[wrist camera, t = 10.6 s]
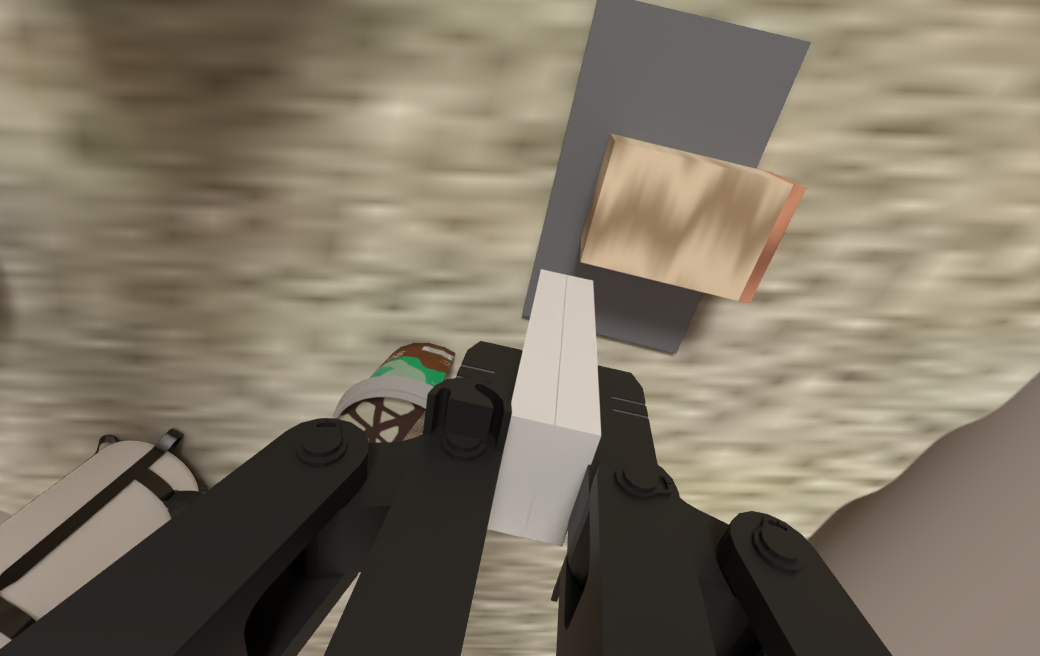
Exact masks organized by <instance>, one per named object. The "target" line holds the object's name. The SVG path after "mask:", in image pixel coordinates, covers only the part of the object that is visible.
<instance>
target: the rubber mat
mask: <svg viewBox="0 0 1040 656" xmlns="http://www.w3.org/2000/svg"><path fill="white" fill-rule="evenodd" d="M810 43H811V42H807V41H803V40H799V39H794V38H790V37H786V36H782V35H778V34H773V33H769V32H765V31H761V30H757V29H752V28H748V27H744V26H740V25H736V24H731V23H727V22H723V21H719V20H715V19H710V18H706V17H702V16H698V15H694V14H689V13H685V12H681V11H677V10H673V9H668V8H664V7H660V6H656V5H652V4H648V3H643V2H639V1H635V0H598V2H597V6H596V10H595V14H594V18H593V22H592V27H591V31H590V35H589V39H588V43H587V47H586V52H585V56H584V60H583V64H582V68H581V72H580V77H579V81H578V85H577V89H576V93H575V97H574V102H573V106H572V110H571V114H570V118H569V122H568V127H567V131H566V135H565V139H564V143H563V147H562V152H561V156H560V160H559V164H558V168H557V172H556V176H555V181H554V185H553V189H552V193H551V197H550V201H549V206H548V210H547V214H546V218H545V222H544V226H543V231H542V235H541V239H540V243H539V247H538V251H537V256H536V260H535V264H534V268H533V272H532V276H531V281H530V285H529V289H528V293H527V297H526V301H525V306H524V310H523V314H522V315H523V316H527V317H530V316H531V312H532V307H533V303H534V298H535V294H536V289H537V285H538V280H539V276H540V271H541V269H542V270H547V271H551V272H556V273H560V274H565V275H569V276H574V277H578V278H583V279H588V280H592V281H593V289H594V308H595V327H596V334H599V335H603V336H608V337H612V338H616V339H620V340H624V341H628V342H632V343H636V344H640V345H644V346H648V347H652V348H656V349H660V350H664V351H668V352H672V353H677V351H678V348H679V346H680V344H681V341H682V339H683V337H684V334H685V332H686V330H687V327H688V325H689V323H690V321H691V318H692V316H693V314H694V311H695V309H696V307H697V304H698V302H699V300H700V297H701V295H702V293H703V292H700V291H696V290H692V289H688V288H684V287H680V286H676V285H672V284H667V283H663V282H659V281H655V280H651V279H647V278H643V277H639V276H635V275H631V274H627V273H623V272H619V271H615V270H611V269H606V268H602V267H598V266H594V265H590V264H586V263H582V262H580V258H581V237H582V233H583V229H584V226H585V222H586V219H587V215H588V212H589V208H590V205H591V201H592V198H593V194H594V190H595V187H596V183H597V180H598V176H599V173H600V169H601V166H602V162H603V158H604V155H605V151H606V148H607V144H608V141H609V137H610V134H615V135H619V136H623V137H627V138H631V139H635V140H639V141H644V142H648V143H652V144H656V145H660V146H664V147H668V148H672V149H677V150H681V151H685V152H689V153H693V154H697V155H701V156H706V157H710V158H714V159H718V160H722V161H726V162H730V163H734V164H739V165H743V166H747V167H751V168H755V169H756V168H757V166H758V163H759V161H760V159H761V157H762V154H763V152H764V150H765V147H766V145H767V143H768V140H769V138H770V136H771V133H772V131H773V129H774V126H775V124H776V122H777V120H778V117H779V115H780V113H781V110H782V108H783V106H784V103H785V101H786V99H787V96H788V94H789V92H790V90H791V87H792V85H793V83H794V80H795V78H796V76H797V73H798V71H799V69H800V66H801V64H802V62H803V59H804V57H805V55H806V53H807V50H808V48H809V46H810Z"/></svg>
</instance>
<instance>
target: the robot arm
mask: <svg viewBox="0 0 1040 656" xmlns="http://www.w3.org/2000/svg"><path fill="white" fill-rule="evenodd" d="M647 418H648V413H647V408H646V406H645V398H644V393H643V388H642V386H641V385H640V384H639V383H638V381H637V380H636V379H635V377H634V376H633V375H632V373H629V372H625V371H620V370H616V369H611V368H607V367H602V366H598V365H597V346H596V327H595V308H594V289H593V281H592V280H588V279H583V278H578V277H574V276H569V275H565V274H560V273H556V272H551V271H547V270H542V269H541V271H540V276H539V280H538V285H537V289H536V294H535V298H534V303H533V307H532V312H531V316H530V321H529V325H528V330H527V334H526V339H525V343H524V348H523V350H519V349H515V348H510V347H506V346H501V345H497V344H492V343H488V342H483V341H480V342H479V343H477V344H476V345H474V346H473V347H471V348H470V349H468V350H467V352H466V354H465V357H464V359H463V361H462V364H461V366H460V368H459V371H458V373H457V376H456V378H454V379H447V380H445V381H443V382H441V383H438V384H436V385H435V386H434V387H433V388H432V389H431V390H430V392H429V393H428V395H427V403H426V412H425V421H424V430H423V434H422V435H420V436H418V437H416V438H412V439H409V440H405V441H398V442H375V443H369V440H368V438H367V437H366V435H365V433H364V431H363V430H362V429H361V428H359V427H358V426H356V425H355V424H353V423H352V422H348V421H344V420H340V419H337V418H320V419H315V420H311V421H307V422H303V423H300V424H298V425H297V426H295V427H293V428H291V429H289V430H287V431H286V432H284V433H283V434H282V435H280V436H279V437H278V438H277V439H275V440H274V441H273V442H271V443H270V444H269V445H267V446H266V447H265V448H263V449H262V450H261V451H259V452H258V453H257V454H256V455H254V456H253V457H252V458H250V459H249V460H248V461H246V462H245V463H244V464H242V465H241V466H240V467H238V468H237V469H236V470H235V471H233V472H232V473H231V474H229V475H228V476H227V477H225V478H224V479H223V480H221V481H220V482H219V483H217V484H216V485H215V486H213V487H212V488H211V489H210V490H208V491H207V492H206V493H204V494H203V495H202V496H200V497H199V498H198V499H196V500H195V501H194V502H192V503H191V504H190V505H189V506H187V507H186V508H185V509H183V510H182V511H181V512H179V513H178V514H177V515H175V516H174V517H173V518H171V519H170V520H169V521H168V522H166V523H165V524H164V525H162V526H161V527H160V528H158V529H157V530H156V531H154V532H153V533H152V534H150V535H149V536H148V537H147V538H145V539H144V540H143V541H141V542H140V543H139V544H137V545H136V546H135V547H133V548H132V549H131V550H129V551H128V552H127V553H125V554H124V555H123V556H122V557H120V558H119V559H118V560H116V561H115V562H114V563H112V564H111V565H110V566H108V567H107V568H106V569H104V570H103V571H102V572H101V573H99V574H98V575H97V576H95V577H94V578H93V579H91V580H90V581H89V582H87V583H86V584H85V585H83V586H82V587H81V588H80V589H78V590H77V591H76V592H74V593H73V594H72V595H70V596H69V597H68V598H66V599H65V600H64V601H62V602H61V603H60V604H58V605H57V606H56V607H55V608H53V609H52V610H51V611H49V612H48V613H47V614H45V615H44V616H43V617H41V618H40V619H39V620H37V621H36V622H35V623H34V624H32V625H31V626H30V627H28V628H27V629H26V630H24V631H23V632H22V633H20V634H19V635H18V636H16V637H15V638H14V639H13V640H11V641H10V642H9V643H7V644H6V645H5V646H3V647H2V648H1V649H0V656H297V655H298V653H299V652H300V651H301V649H302V648H303V647H304V645H305V644H306V643H307V641H308V640H309V639H310V637H311V636H312V635H313V633H314V632H315V631H316V629H317V628H318V627H319V625H320V624H321V623H322V621H323V620H324V619H325V617H326V616H327V615H328V613H329V612H330V611H331V609H332V608H333V607H334V606H335V604H336V603H337V602H338V600H339V599H340V598H341V596H342V595H343V594H344V592H345V591H346V590H347V588H348V587H349V586H350V584H351V583H352V582H353V580H354V579H355V578H356V576H357V575H358V573H359V572H361V574H360V576H359V578H358V581H357V583H356V585H355V587H354V589H353V592H352V594H351V596H350V598H349V601H348V603H347V605H346V607H345V610H344V612H343V614H342V616H341V618H340V621H339V623H338V625H337V627H336V630H335V632H334V634H333V636H332V639H331V641H330V643H329V645H328V647H327V650H326V652H325V654H324V656H461V651H462V646H463V641H464V637H465V632H466V627H467V622H468V618H469V613H470V608H471V603H472V599H473V594H474V589H475V584H476V580H477V575H478V570H479V565H480V561H481V556H482V551H483V546H484V542H485V537H486V532H487V529H489V530H493V531H498V532H502V533H506V534H511V535H515V536H519V537H524V538H528V539H532V540H537V541H541V542H545V543H550V544H554V545H559V546H562V545H563V542H564V540H565V537H566V534H567V531H568V547H567V554H566V557H565V560H564V562H563V565H562V568H561V571H560V573H559V576H558V579H557V582H556V584H555V587H554V590H553V594H552V598H551V601H556V602H557V600H558V597H559V609H558V630H557V651H556V656H892V655H891V653H890V652H889V651H888V649H887V648H886V646H885V645H884V644H883V642H882V641H881V639H880V638H879V637H878V635H877V634H876V633H875V631H874V630H873V628H872V627H871V626H870V624H869V623H868V622H867V620H866V619H865V617H864V616H863V615H862V613H861V612H860V611H859V609H858V608H857V606H856V605H855V604H854V602H853V601H852V599H851V598H850V597H849V595H848V594H847V593H846V591H845V590H844V589H843V587H842V586H841V584H840V583H839V582H838V580H837V579H836V577H835V576H834V575H833V573H832V572H831V570H830V569H829V568H828V566H827V565H826V564H825V562H824V561H823V559H822V558H821V557H820V555H819V554H818V553H817V551H816V550H815V549H814V548H813V546H812V545H811V544H810V543H809V542H808V541H807V540H806V539H805V538H804V537H803V535H802V534H800V533H799V532H798V531H796V530H795V529H793V528H792V527H791V526H789V525H788V524H787V523H785V522H783V521H781V520H779V519H777V518H775V517H773V516H771V515H768V514H764V513H759V512H754V511H750V512H744V513H739V514H738V515H737V516H736V517H735V518H734V519H733V520H732V521H731V523H730V524H727V523H724V522H722V521H720V520H718V519H716V518H714V517H712V516H710V515H708V514H706V513H704V512H702V511H700V510H698V509H696V508H694V507H693V506H691V505H689V504H687V503H686V502H685V501H683V500H682V499H681V498H680V496H679V492H678V490H677V487H676V485H675V483H674V481H673V479H672V478H671V477H670V476H669V475H668V474H667V473H666V471H665V470H664V469H663V468H662V467H660V466H659V465H658V464H657V459H656V454H655V449H654V444H653V439H652V433H651V428H650V423H649V419H647Z"/></svg>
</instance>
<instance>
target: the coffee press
mask: <svg viewBox="0 0 1040 656" xmlns="http://www.w3.org/2000/svg"><path fill="white" fill-rule="evenodd" d="M183 436H184V434H182V433H180V432H178V431H176V430H175V429H173V428H172V429H170V430H169V431H168V432H167V433H166V434H165V435H164V436H163V437H162V438H161V440H160V441H159V442H158V443H157V444H156V445H153V444H150V443H146V442H141V441H121V442H117V438H116V437H115V436H113V435H105V436H102V437H101V438H100V440H99V444H98V448H97V451H96V453H95V454H94V455H93V456H92V457H91V458H89V459H88V460H87V461H85V462H84V463H83V464H81V465H80V466H79V467H77V468H76V469H75V470H73V471H72V472H71V473H69V474H68V475H67V476H65V477H64V478H63V479H61V480H60V481H59V482H57V483H56V484H54V485H53V486H52V487H50V488H49V489H48V490H46V491H45V492H44V493H42V494H41V495H40V496H38V497H37V498H36V499H34V500H33V501H32V502H30V503H29V504H28V505H26V506H25V507H23V508H22V509H21V510H19V511H18V512H17V513H15V514H14V515H13V516H11V517H10V518H9V519H7V520H6V521H5V522H3V523H2V524H1V525H0V649H1V648H2V647H3V646H5V645H6V644H7V643H9V642H10V641H11V640H13V639H14V638H15V637H16V636H18V635H19V634H20V633H22V632H23V631H24V630H26V629H27V628H28V627H30V626H31V625H32V624H34V623H35V622H36V621H37V620H39V619H40V618H41V617H43V616H44V615H45V614H47V613H48V612H49V611H51V610H52V609H53V608H55V607H56V606H57V605H58V604H60V603H61V602H62V601H64V600H65V599H66V598H68V597H69V596H70V595H72V594H73V593H74V592H76V591H77V590H78V589H80V588H81V587H82V586H83V585H85V584H86V583H87V582H89V581H90V580H91V579H93V578H94V577H95V576H97V575H98V574H99V573H101V572H102V571H103V570H104V569H106V568H107V567H108V566H110V565H111V564H112V563H114V562H115V561H116V560H118V559H119V558H120V557H122V556H123V555H124V554H125V553H127V552H128V551H129V550H131V549H132V548H133V547H135V546H136V545H137V544H139V543H140V542H141V541H143V540H144V539H145V538H147V537H148V536H149V535H150V534H152V533H153V532H154V531H156V530H157V529H158V528H160V527H161V526H162V525H164V524H165V523H166V522H168V521H169V520H170V519H171V518H173V517H174V516H175V515H177V514H178V513H179V512H181V511H182V510H183V509H185V508H186V507H187V506H189V505H190V504H191V503H192V502H194V501H195V500H196V499H198V498H199V497H200V496H202V495H203V494H204V493H206V492H207V491H208V490H203V491H200V490H198V485H197V482H196V480H195V478H194V476H193V474H192V473H191V471H190V470H189V469H188V468H187V466H186V465H185V464H184V463H183V462H182V461H181V460H179V459H178V458H177V457H176V456H174V455H173V454H172V452H173V450H174V448H175V447H176V446H177V444H178V443H179V442H180V440H181V439H182V438H183ZM105 442H109V443H112V444H111V445H109V446H107V447H106V448H104V449H103V450H101V451H100V452H98V451H99V447H100V445H101V444H102V443H105Z"/></svg>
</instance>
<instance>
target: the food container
mask: <svg viewBox="0 0 1040 656" xmlns="http://www.w3.org/2000/svg"><path fill="white" fill-rule="evenodd" d="M454 356H455V353H454V352H452V351H450V350H449V349H447V348H445V347H441V346H438V345H434V344H431V343H413V344H409V345H406V346H403V347H400V348H399V349H398V350H396V351H395V352H394V353H392V355H391V356H390V357H389V358H388V359H387V360H386V361H385V362H384V363H383V364H382V365H381V366H380V367H379V369H378V370H377V371H376V372H375V373H374V374H373V375H372V376H371V377H370V378H369V379H366V380H363V381H361V382H359V383H357V384H356V385H354V386H352V387H351V388H350V389H349V390H348V391H346V393H345V394H344V395H343V396H342V398H341V399H340V401H339V403H338V405H337V407H336V410H335V413H334V415H333V418H337V419H340V420H344V421H348V422H352V423H353V424H355V425H356V426H358V427H359V428H361V429H362V430H363V431H364V433H365V435H366V437H367V438H368V440H369V443H375V442H398V441H402V440H403V439H404V437H405V436H406V435H407V433H408V432H409V431H410V430H411V428H412V427H413V426H414V424H415V423H416V422H417V420H418V419H419V418H420V417H421V415H422V414H423V413H424V411H425V410H426V403H427V395H428V393H429V392H430V390H431V389H432V388H433V387H434V386H435V385H436V384H438V383H441V382H443V380H444V378H445V375H446V373H447V371H448V369H449V367H450V364H451V362H452V360H453V358H454Z"/></svg>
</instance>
